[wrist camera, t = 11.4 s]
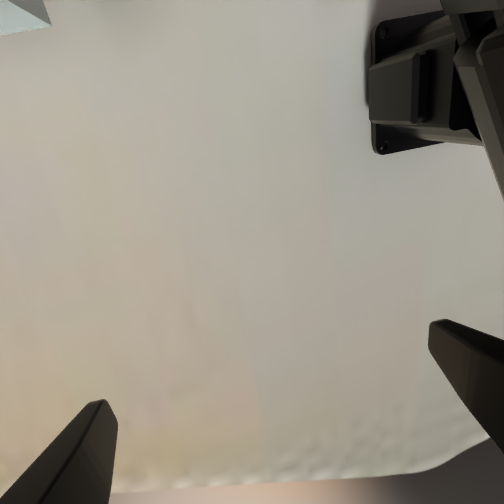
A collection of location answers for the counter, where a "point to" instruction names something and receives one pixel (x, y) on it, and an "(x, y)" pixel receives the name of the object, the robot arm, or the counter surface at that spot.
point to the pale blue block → (22, 16)
